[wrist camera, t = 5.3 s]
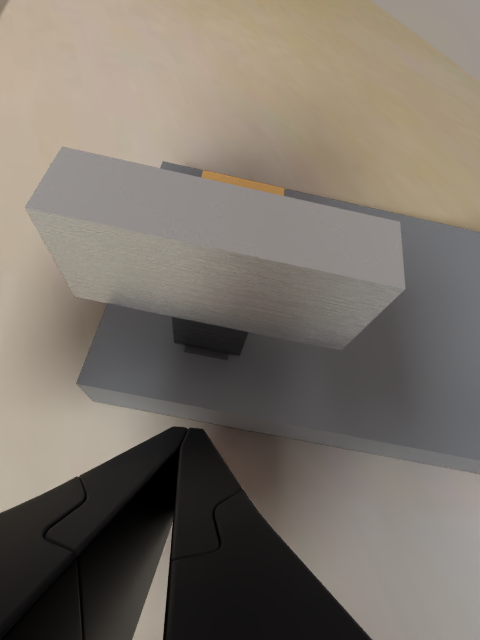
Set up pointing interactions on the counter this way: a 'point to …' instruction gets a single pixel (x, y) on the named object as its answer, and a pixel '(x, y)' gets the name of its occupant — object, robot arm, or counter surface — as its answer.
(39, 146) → the counter surface
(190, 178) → the switch
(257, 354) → the switch panel
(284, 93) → the counter surface
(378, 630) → the counter surface
